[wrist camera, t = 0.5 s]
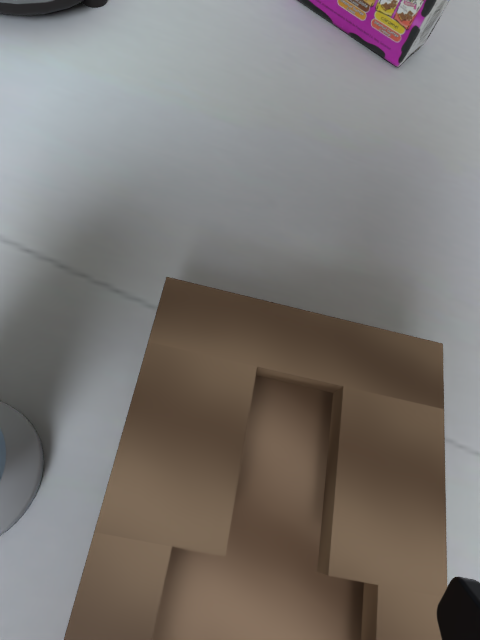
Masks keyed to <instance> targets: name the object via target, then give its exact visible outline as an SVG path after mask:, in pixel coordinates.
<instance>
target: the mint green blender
mask: <svg viewBox="0 0 480 640" xmlns="http://www.w3.org/2000/svg"><path fill="white" fill-rule="evenodd" d="M80 2H81V3H83V4H84V5H86V6H89V7H100V6H103V5H104V4H105V3H106V2H107V0H0V13H2V14H12V15H35V14H47V13H51V12H55V11H59V10H63V9H67V8H70V7H72V6H74V5H76V4H78V3H80Z"/></svg>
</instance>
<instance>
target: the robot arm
mask: <svg viewBox="0 0 480 640" xmlns="http://www.w3.org/2000/svg"><path fill="white" fill-rule="evenodd" d="M437 621H438V626H439V630H440V634H441V638H442V640H480V583H479V582H478V581H476V580H473V579H468V578H462V577H455V578H453V579H452V580H451V581H450V583H449V585H448V587H447V589H446V591H445V593H444V594H443V596H442V598H441V600H440V602H439V604H438V606H437Z"/></svg>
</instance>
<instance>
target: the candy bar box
mask: <svg viewBox="0 0 480 640" xmlns="http://www.w3.org/2000/svg"><path fill="white" fill-rule="evenodd" d="M298 1H300V2H301V3H303V4H304V5H306V6H307V7H308V8H310V9H311V10H313V11H314V12H316V13H317V14H319V15H320V16H322V17H323V18H325V19H326V20H328V21H329V22H331V23H332V24H334V25H335V26H336V27H338V28H339V29H341V30H342V31H344V32H345V33H347V34H348V35H350V36H351V37H353V38H354V39H356V40H357V41H359V42H360V43H362V44H363V45H365V46H366V47H368V48H369V49H371V50H372V51H374V52H375V53H377V54H378V55H380V56H381V57H382V58H384V59H385V60H387V61H388V62H390V63H391V64H393V65H394V66H396V67H399V66H400V65H401V64H403V63H404V62H405V61H406V60H407V58H408V57H410V56H411V55H412V54H413V53H414V52H415V51H417V50H418V49H419V48H420V47H421V46H422V45H423V44H424V43H425V42H426V40H427V39H428V37H429V36H430V34H431V32H432V30H433V29H434V27H435V25H436V23H437V22H438V20H439V18H440V16H441V15H442V13H443V11H444V9H445V7H446V6H447V4H448V2H449V0H298Z"/></svg>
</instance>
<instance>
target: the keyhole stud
mask: <svg viewBox="0 0 480 640" xmlns="http://www.w3.org/2000/svg"><path fill="white" fill-rule="evenodd" d="M43 467H44V456H43V448H42V445H41V441H40V438H39V436H38V434H37V431H36V430H35V428H34V427H33V425H32V424H31V423H30V422H29V420H28V419H27V418H26V417H24V416H23V415H22V414H21V413H20V412H18V411H17V410H15V409H14V408H12V407H11V406H9V405H8V404H6V403H4V402H1V401H0V536H1V535H2V534H3V533H5V532H6V531H8V530H9V529H10V528H11V527H12V526H13V525H14V524H15V523H16V522H17V521H18V520H19V519H20V518H21V517H22V516H23V515H24V513H25V512H26V510H27V509H28V508H29V506H30V505H31V503H32V501H33V499H34V497H35V496H36V493H37V491H38V488H39V486H40V482H41V479H42V474H43Z"/></svg>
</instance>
